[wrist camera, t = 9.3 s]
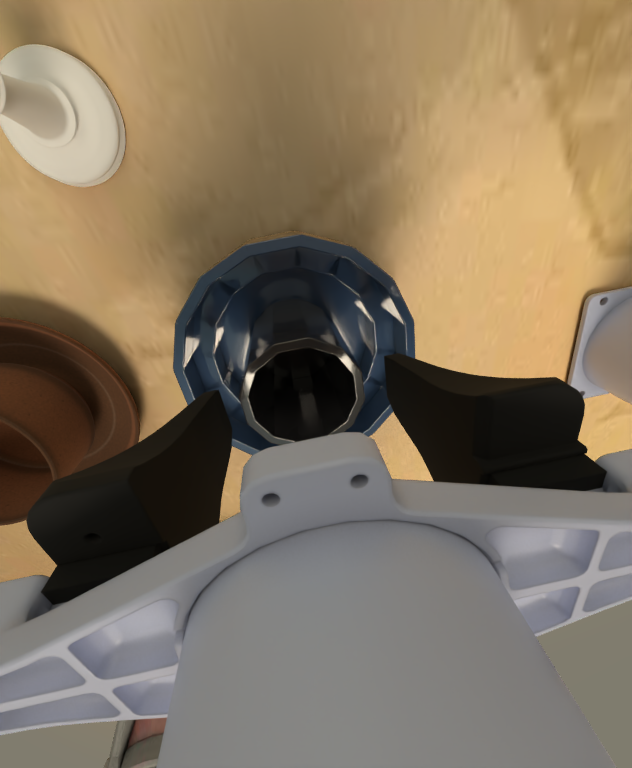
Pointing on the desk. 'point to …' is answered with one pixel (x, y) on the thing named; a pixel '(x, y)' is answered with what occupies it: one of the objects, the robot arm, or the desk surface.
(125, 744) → the beverage can
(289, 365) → the cup
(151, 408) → the desk surface
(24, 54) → the chess piece
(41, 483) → the cup and saucer
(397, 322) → the bowl
